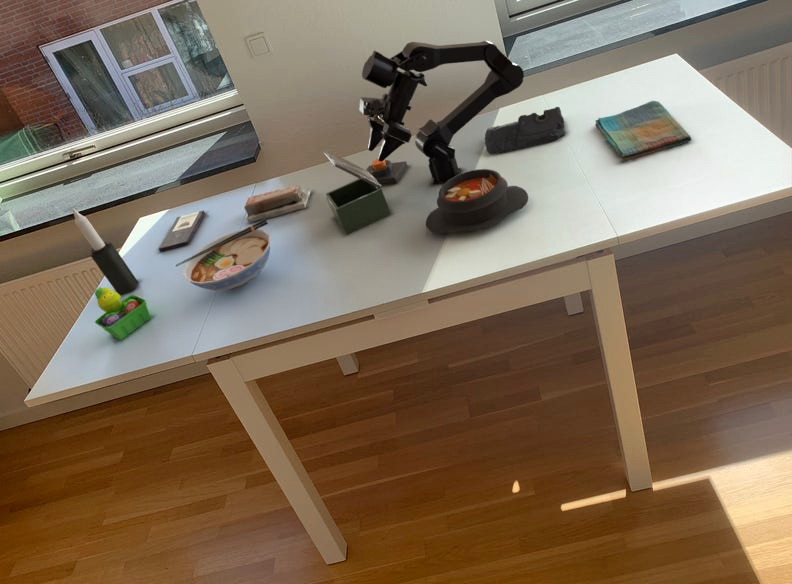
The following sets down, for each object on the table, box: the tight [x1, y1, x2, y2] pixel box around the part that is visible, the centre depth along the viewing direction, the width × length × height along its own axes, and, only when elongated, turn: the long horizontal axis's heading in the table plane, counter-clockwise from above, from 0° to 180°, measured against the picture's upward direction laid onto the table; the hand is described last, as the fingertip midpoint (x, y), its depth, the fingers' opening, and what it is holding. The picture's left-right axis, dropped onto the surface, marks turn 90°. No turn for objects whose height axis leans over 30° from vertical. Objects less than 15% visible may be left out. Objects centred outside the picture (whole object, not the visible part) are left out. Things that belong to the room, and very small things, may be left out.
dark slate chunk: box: [484, 106, 566, 155], centre depth 191 cm, size 15×22×5 cm
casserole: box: [425, 168, 529, 235], centre depth 164 cm, size 25×19×8 cm
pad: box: [365, 159, 409, 186], centre depth 197 cm, size 12×9×4 cm
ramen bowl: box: [176, 218, 271, 292], centre depth 174 cm, size 25×23×8 cm
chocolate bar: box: [158, 210, 206, 252], centre depth 208 cm, size 9×1×18 cm
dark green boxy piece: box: [324, 178, 392, 235], centre depth 181 cm, size 13×12×7 cm
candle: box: [71, 207, 139, 296], centre depth 182 cm, size 5×5×25 cm
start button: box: [371, 158, 386, 170], centre depth 196 cm, size 4×4×2 cm
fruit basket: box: [94, 286, 152, 341], centre depth 170 cm, size 11×9×11 cm
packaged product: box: [243, 184, 312, 223], centre depth 200 cm, size 18×5×10 cm
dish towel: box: [594, 100, 692, 162], centre depth 174 cm, size 17×23×2 cm
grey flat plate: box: [323, 148, 382, 189], centre depth 176 cm, size 13×12×1 cm
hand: (374, 155), depth 176 cm, fingers open, 8 cm apart
